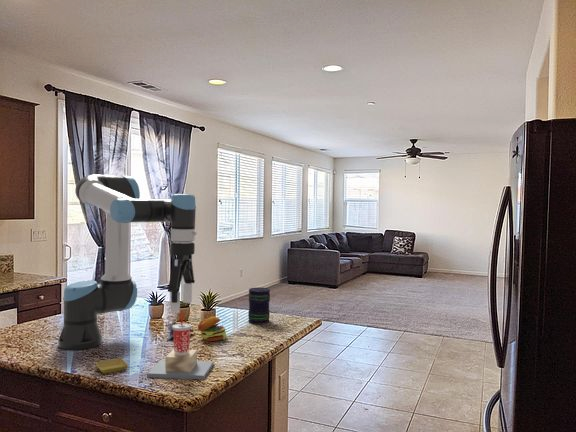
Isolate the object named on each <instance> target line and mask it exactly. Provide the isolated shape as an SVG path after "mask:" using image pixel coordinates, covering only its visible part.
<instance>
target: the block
mask: <svg viewBox="0 0 576 432" xmlns="http://www.w3.org/2000/svg"><path fill="white" fill-rule="evenodd" d="M164 360H165V371H175V372H191V371H192V369H193V368H194V367H195V365H196V364H197V361H198V349H189V354H187V355H183V356H178V355H175V354H174V348H173V349H172V350H170V352H169V353H168V354H167V355H166V356H165V359H164Z"/></svg>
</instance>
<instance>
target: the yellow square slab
mask: <svg viewBox="0 0 576 432" xmlns="http://www.w3.org/2000/svg"><path fill="white" fill-rule="evenodd" d="M94 364H95V365H96V367H97V368H98V369H99V371H100V372H101V373H102V374H103V375H105V374H110V373H111V374H112V373H115V372H120V371H121V372H122V371H126V370H127V368H128V367H129V364H128V363H127V362H126V361H125V360H124V358H122V357H118V358H113V359H112V358H111V359H106V360H100V361H96V362H94Z"/></svg>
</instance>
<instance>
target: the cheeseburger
mask: <svg viewBox="0 0 576 432" xmlns="http://www.w3.org/2000/svg"><path fill="white" fill-rule="evenodd" d="M220 321H221V319H220V318H219V317H217V316H213V315H212V316H210V317H207V318H204V319H201V320H200V321H199V322H198V323H199V324H198V326H197V330H198V331H200V333H201V334H200V335H201V338H202V340H204V341H206V342H216V341H220V340H222V341H224V340H226V339H227V336H228V335H227V331H226V328H225V327H224V325H219V324H220V323H219V322H220Z"/></svg>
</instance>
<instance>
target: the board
mask: <svg viewBox="0 0 576 432" xmlns="http://www.w3.org/2000/svg"><path fill="white" fill-rule="evenodd" d="M165 360H166V359H160V360H159V361H158V362H157V363H155V365H154V366H153V367H152V368H151V369H150V370H149V371H147V373H146V378H158V379H159V378H160V379H180V380H181V379H182V380H184V379H186V380H205V378H206V377H207V376H208V375H209V374H208V373H210V372H211V370H212V368H213V367H214V361H213V360H212V361H210V360H208V361H207V360H197V364H196V365H195V367H194V368H193V369H192V371H191V372H175V371H165Z"/></svg>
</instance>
